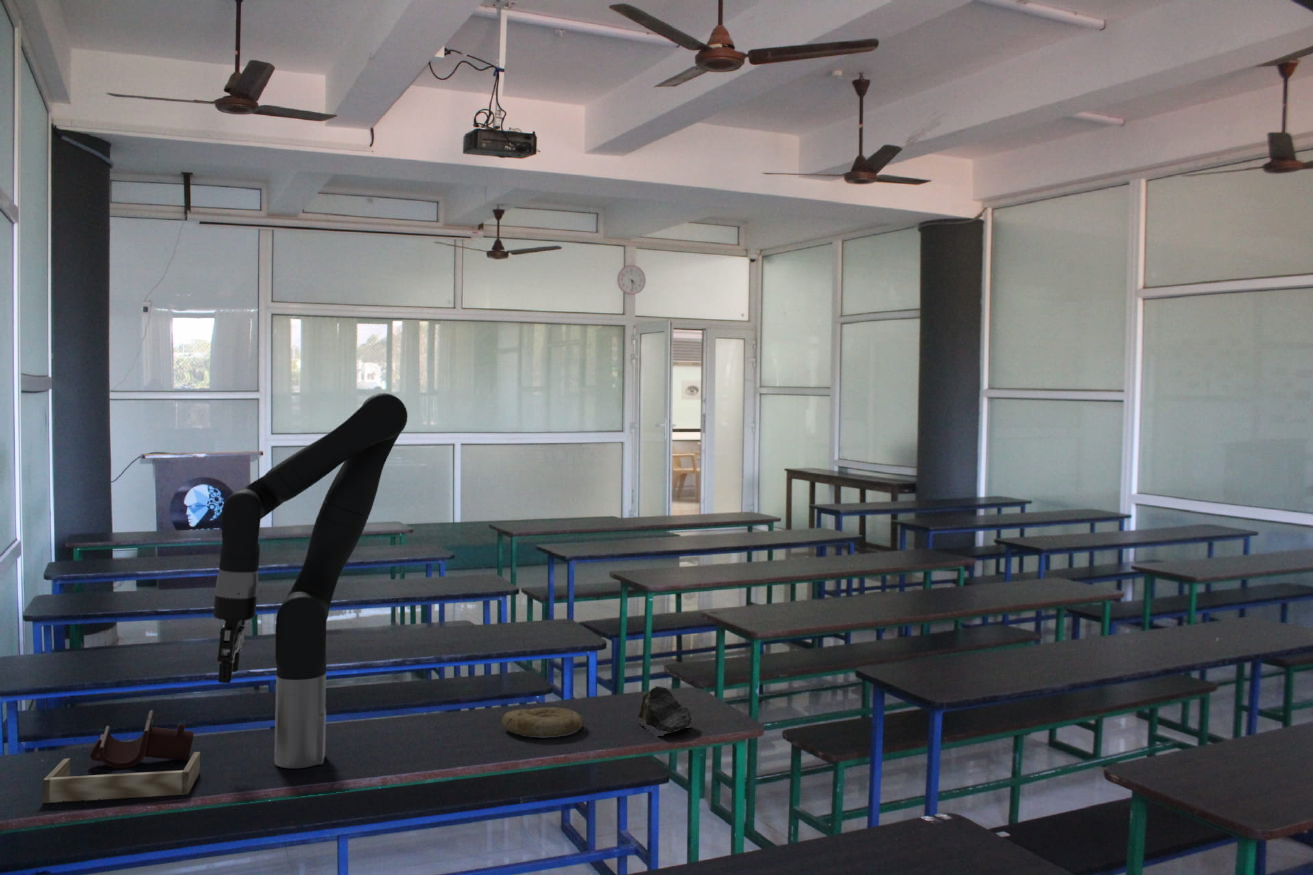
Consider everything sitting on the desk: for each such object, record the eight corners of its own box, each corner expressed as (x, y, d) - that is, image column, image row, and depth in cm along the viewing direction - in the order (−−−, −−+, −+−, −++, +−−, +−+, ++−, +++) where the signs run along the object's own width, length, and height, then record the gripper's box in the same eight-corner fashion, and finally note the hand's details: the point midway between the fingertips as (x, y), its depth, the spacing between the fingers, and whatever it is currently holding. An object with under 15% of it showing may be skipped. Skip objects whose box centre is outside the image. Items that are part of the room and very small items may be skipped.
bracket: (92, 746, 194) (102, 704, 191) (187, 755, 201) (198, 715, 198) (86, 768, 189) (96, 725, 186) (183, 776, 195) (194, 735, 193)
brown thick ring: (546, 748, 210) (546, 727, 210) (495, 734, 219) (495, 713, 219) (597, 729, 224) (598, 709, 224) (547, 716, 233) (548, 696, 233)
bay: (199, 772, 189) (200, 751, 189) (187, 794, 179) (188, 771, 179) (63, 780, 184) (63, 758, 184) (43, 802, 173) (43, 779, 173)
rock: (632, 721, 230) (631, 682, 228) (675, 710, 235) (675, 672, 232) (658, 753, 218) (657, 712, 215) (703, 741, 222) (703, 701, 219)
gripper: (251, 600, 188) (243, 687, 187) (262, 588, 201) (254, 668, 201) (208, 598, 186) (200, 685, 186) (221, 585, 199) (214, 667, 199)
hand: (228, 676), depth 193 cm, fingers open, 8 cm apart
